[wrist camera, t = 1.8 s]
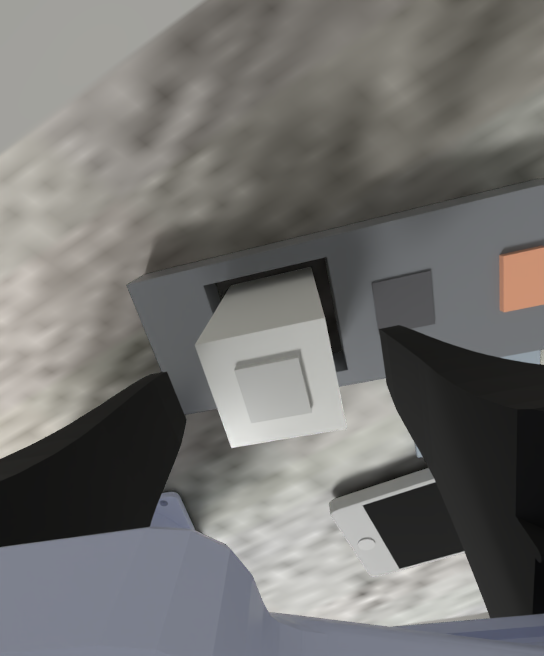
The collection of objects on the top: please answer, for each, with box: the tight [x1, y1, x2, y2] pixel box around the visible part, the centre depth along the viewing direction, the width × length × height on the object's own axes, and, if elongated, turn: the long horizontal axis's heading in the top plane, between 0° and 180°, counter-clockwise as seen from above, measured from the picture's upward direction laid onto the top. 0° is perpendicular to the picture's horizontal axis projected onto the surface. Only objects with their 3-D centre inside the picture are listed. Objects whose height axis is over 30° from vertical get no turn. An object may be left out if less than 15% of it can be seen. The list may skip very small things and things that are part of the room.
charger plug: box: [195, 267, 347, 448], centre depth 14 cm, size 4×4×7 cm
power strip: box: [127, 179, 544, 415], centre depth 16 cm, size 18×7×2 cm, turn 104°
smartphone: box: [329, 468, 465, 577], centre depth 21 cm, size 7×16×1 cm, turn 117°
